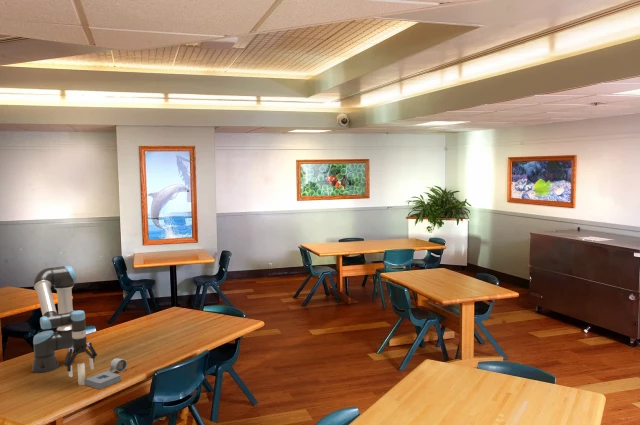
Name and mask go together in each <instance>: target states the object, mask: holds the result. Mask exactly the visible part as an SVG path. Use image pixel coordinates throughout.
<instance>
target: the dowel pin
mask: <svg viewBox="0 0 640 425" xmlns="http://www.w3.org/2000/svg"><path fill="white" fill-rule="evenodd" d="M85 364H86V363H85V362H79V363H77V365H76V366H77V368H76V369H77V382H78V386H83V385H85V379H86V367H85V366H86V365H85Z"/></svg>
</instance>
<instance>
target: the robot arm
mask: <svg viewBox="0 0 640 425" xmlns="http://www.w3.org/2000/svg"><path fill="white" fill-rule="evenodd" d="M76 283H77V275H76V272H75V269H74V267H73V266H72V265H61V266H55V267H54V266H53V267H46V268H44V269H42V270H40V271H39V272H38V273H37V274H36V276H35V277H34V280H33V289H34V290H35V292H36V293H37V296H38V297H37V298H38V302H39V306H40V311H41V315H42V316H41V317H40V318H39V324H40V329H42V330H44V331H41V332H39V333H37V334H35V335H34V336H33V341H32V344H33V354H34V355H33V356H34V359H33V362H32V365H31V372H33V373H37V374H38V373H47V372H51V371H53V370H56V369H58V368H59V361H58V358H57V357H56V352H55V351H61V350H64V349H66V350H67V353H66V357H65V358H64V359H65V360H64V362H63V366H64V367H66V371H67V372H68V377H70V378H73V376H74V374H73V365H72V364H73V363H74V360H75V359H76V357H77V356H78V355H79V354H82V353H85V354H86V355H88V357H89V358H88V361H89V370H94V369H95V368H94V366H95V365H94V363H95V358H96V357H97V356H98V353H97V352H96V350H95V348H94V347H93V344H92V342H90V341H87V340H88V339H87V337H86V336H87V330H86V329H87V328H86V327H87V326H86V313H85V310H74V308H73V293H72V291H73V290H72V289H73V287H75V284H76ZM52 286H53V288H54V290H56V295H57V298H56V299H57V309H56V304H55V301H54V297H53V294H52V293H53V292H52V289H51V288H52ZM57 310H58V311H57ZM55 328H56V332H55V331H53V329H55ZM50 329H52V330H50ZM87 347H88V349H87Z"/></svg>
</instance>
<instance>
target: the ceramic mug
mask: <svg viewBox="0 0 640 425" xmlns="http://www.w3.org/2000/svg"><path fill="white" fill-rule="evenodd" d="M127 366H128V362H127V360H126V359H124V358H118V357H117V358H113V359H112V360H111V362H110V367H108V369H107V372H111V373H114V374H115V373H116V372H118V373H123V372H124V371H125V370H126V368H127Z"/></svg>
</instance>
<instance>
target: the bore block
mask: <svg viewBox="0 0 640 425" xmlns="http://www.w3.org/2000/svg"><path fill="white" fill-rule="evenodd" d="M121 376H122V375H120V374H118V373H117V374H116V373H115V372H114V373H111V372H110V371H109V372H108V370H105V371H102V372H100V373H97V374H94V375H90V376H89V377H87V378H86V377H85V378H86V379H85V384H84V385H85V386H87V387H92V388H93V389H97V390H102V389H104V388H107V387H110V386H112V385H115V384H117V383H119V382H121V381H122V380H121Z"/></svg>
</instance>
